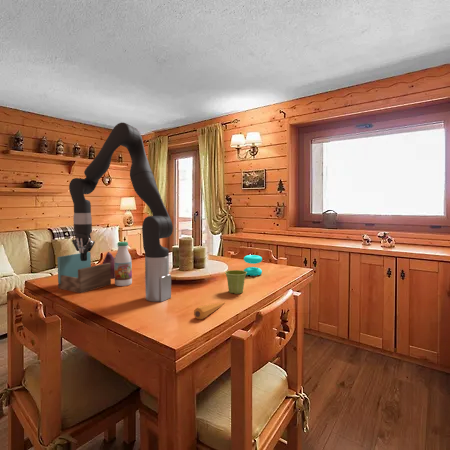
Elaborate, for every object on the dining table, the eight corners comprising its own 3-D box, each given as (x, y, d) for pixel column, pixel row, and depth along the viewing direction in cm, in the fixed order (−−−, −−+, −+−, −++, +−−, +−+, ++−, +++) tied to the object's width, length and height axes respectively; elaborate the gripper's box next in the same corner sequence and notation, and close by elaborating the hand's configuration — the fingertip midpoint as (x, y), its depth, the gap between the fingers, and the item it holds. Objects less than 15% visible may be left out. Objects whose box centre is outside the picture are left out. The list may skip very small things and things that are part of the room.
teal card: (91, 276, 149) (90, 252, 148) (60, 283, 135) (59, 257, 134) (87, 275, 150) (87, 251, 149) (56, 283, 136) (55, 256, 135)
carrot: (200, 323, 99) (205, 311, 98) (189, 316, 101) (194, 304, 100) (227, 310, 117) (232, 300, 116) (218, 304, 118) (222, 294, 118)
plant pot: (221, 290, 134) (221, 270, 133) (240, 288, 138) (240, 269, 137) (230, 296, 125) (230, 275, 125) (250, 293, 129) (250, 273, 129)
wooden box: (110, 284, 143) (110, 263, 142) (80, 293, 129) (80, 269, 128) (89, 280, 150) (88, 260, 149) (58, 288, 135) (57, 266, 135)
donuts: (243, 254, 169) (261, 254, 169) (243, 272, 170) (261, 272, 169) (244, 257, 159) (263, 257, 159) (243, 276, 160) (262, 276, 159)
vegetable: (114, 285, 153) (113, 258, 148) (96, 281, 155) (94, 255, 150) (125, 275, 163) (124, 250, 158) (108, 272, 165) (106, 246, 159)
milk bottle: (111, 284, 143) (110, 242, 141) (126, 281, 149) (126, 240, 147) (119, 287, 138) (119, 243, 136) (135, 284, 143) (134, 242, 142)
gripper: (99, 223, 138) (100, 260, 139) (80, 222, 144) (81, 258, 145) (85, 224, 131) (86, 263, 132) (65, 222, 137) (66, 260, 138)
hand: (83, 260), depth 139 cm, fingers closed
